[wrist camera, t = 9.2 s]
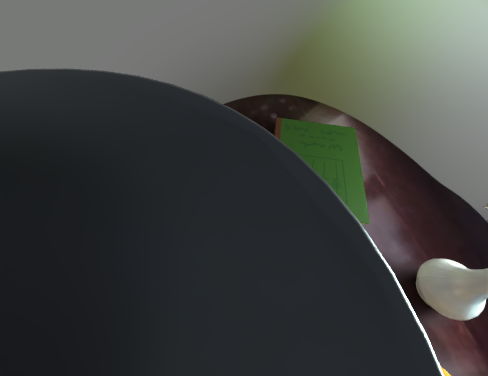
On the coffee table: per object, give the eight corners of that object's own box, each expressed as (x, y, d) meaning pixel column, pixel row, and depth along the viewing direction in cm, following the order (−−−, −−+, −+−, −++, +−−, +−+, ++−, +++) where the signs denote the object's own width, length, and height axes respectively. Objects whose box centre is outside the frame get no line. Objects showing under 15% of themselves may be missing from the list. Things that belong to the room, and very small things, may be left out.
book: (273, 128, 58) (276, 117, 55) (348, 138, 57) (355, 128, 54) (265, 220, 45) (268, 212, 42) (360, 233, 45) (370, 227, 42)
